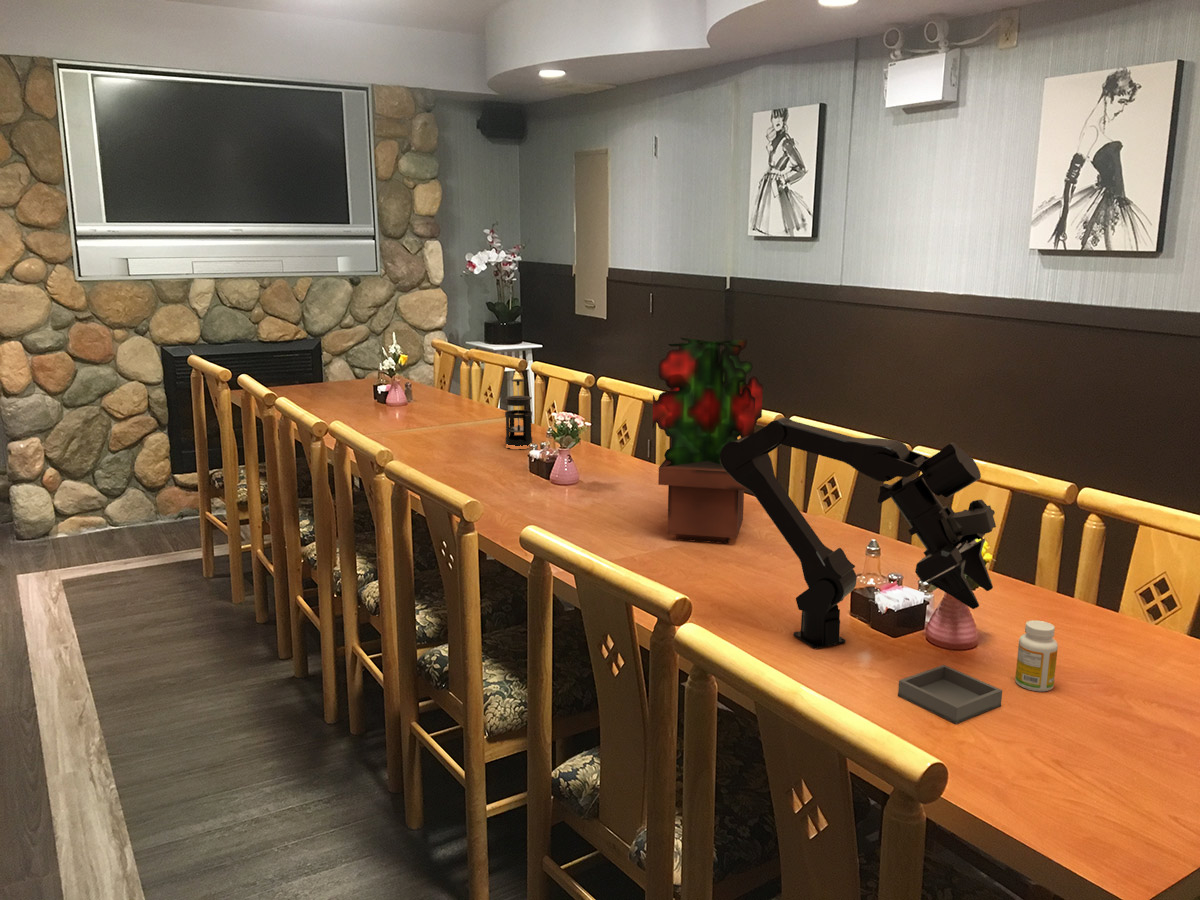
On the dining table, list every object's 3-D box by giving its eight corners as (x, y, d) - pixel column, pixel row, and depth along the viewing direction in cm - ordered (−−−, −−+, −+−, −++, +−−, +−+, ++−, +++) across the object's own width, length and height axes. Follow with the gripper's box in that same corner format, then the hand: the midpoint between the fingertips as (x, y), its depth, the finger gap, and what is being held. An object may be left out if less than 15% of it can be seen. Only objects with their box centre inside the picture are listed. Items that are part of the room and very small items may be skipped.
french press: (498, 446, 318) (497, 378, 314) (522, 443, 324) (521, 376, 319) (517, 452, 309) (515, 382, 304) (541, 448, 315) (540, 380, 310)
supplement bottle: (1042, 676, 147) (1048, 618, 145) (1060, 692, 142) (1067, 631, 140) (1008, 677, 147) (1014, 618, 145) (1024, 692, 142) (1031, 632, 139)
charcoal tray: (897, 695, 140) (899, 680, 140) (942, 679, 146) (943, 664, 145) (955, 724, 132) (957, 707, 131) (1000, 706, 137) (1002, 690, 137)
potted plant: (650, 544, 212) (653, 345, 203) (667, 518, 233) (670, 336, 224) (749, 552, 207) (757, 347, 198) (757, 524, 228) (764, 338, 219)
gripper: (952, 499, 135) (1018, 593, 132) (982, 474, 150) (1042, 558, 147) (888, 536, 141) (950, 626, 138) (924, 508, 156) (980, 589, 153)
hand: (983, 598), depth 144 cm, fingers open, 9 cm apart
